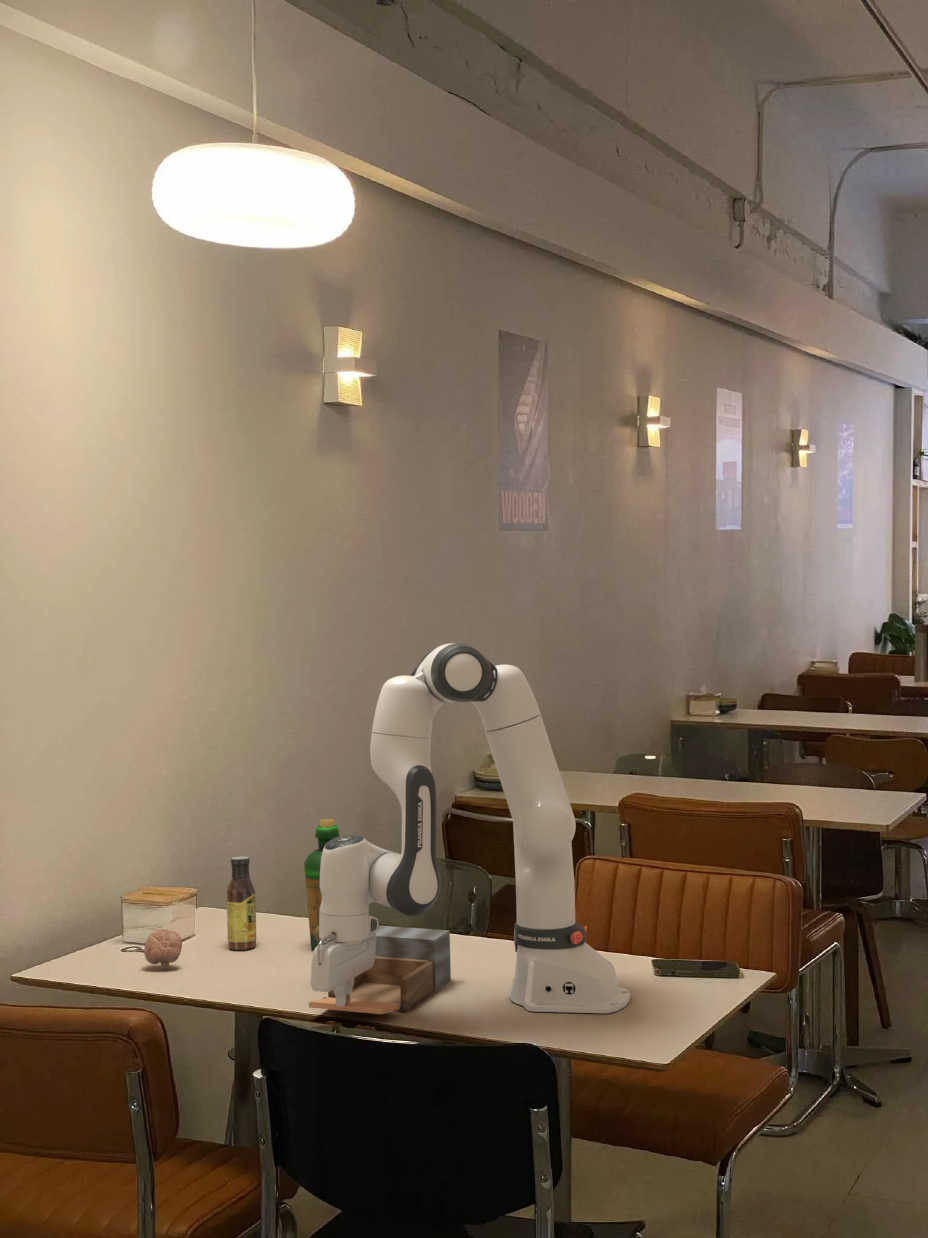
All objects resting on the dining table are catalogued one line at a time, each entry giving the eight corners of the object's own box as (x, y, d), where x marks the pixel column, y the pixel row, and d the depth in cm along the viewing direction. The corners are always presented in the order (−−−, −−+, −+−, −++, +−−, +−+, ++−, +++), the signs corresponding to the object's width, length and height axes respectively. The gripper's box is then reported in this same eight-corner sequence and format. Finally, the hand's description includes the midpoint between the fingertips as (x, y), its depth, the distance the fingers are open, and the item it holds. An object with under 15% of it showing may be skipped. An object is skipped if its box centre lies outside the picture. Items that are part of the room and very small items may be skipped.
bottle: (312, 942, 309) (309, 816, 309) (359, 942, 308) (356, 816, 308) (300, 954, 299) (296, 824, 298) (348, 954, 297) (345, 824, 297)
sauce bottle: (254, 951, 302) (251, 860, 302) (225, 952, 302) (223, 861, 302) (259, 944, 309) (256, 854, 308) (230, 944, 309) (228, 855, 309)
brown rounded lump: (188, 967, 290) (187, 929, 290) (166, 974, 285) (165, 936, 285) (162, 963, 294) (161, 925, 294) (140, 970, 289) (139, 931, 289)
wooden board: (399, 1003, 254) (381, 1008, 246) (399, 1011, 253) (381, 1016, 246) (328, 997, 259) (309, 1002, 251) (328, 1004, 259) (308, 1009, 251)
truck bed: (452, 981, 275) (451, 930, 275) (405, 1015, 253) (404, 960, 253) (375, 974, 281) (374, 925, 281) (322, 1007, 259) (321, 954, 259)
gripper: (335, 941, 238) (334, 1022, 238) (382, 918, 257) (381, 992, 257) (301, 938, 240) (301, 1018, 240) (351, 915, 260) (350, 989, 259)
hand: (343, 1004), depth 249 cm, fingers closed, pressing on wooden board
